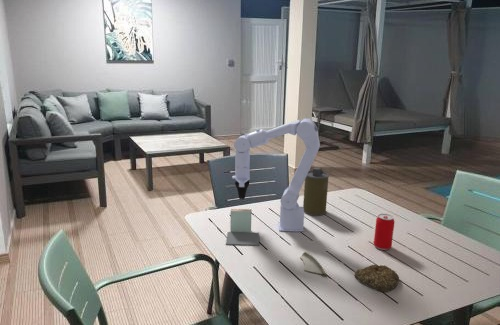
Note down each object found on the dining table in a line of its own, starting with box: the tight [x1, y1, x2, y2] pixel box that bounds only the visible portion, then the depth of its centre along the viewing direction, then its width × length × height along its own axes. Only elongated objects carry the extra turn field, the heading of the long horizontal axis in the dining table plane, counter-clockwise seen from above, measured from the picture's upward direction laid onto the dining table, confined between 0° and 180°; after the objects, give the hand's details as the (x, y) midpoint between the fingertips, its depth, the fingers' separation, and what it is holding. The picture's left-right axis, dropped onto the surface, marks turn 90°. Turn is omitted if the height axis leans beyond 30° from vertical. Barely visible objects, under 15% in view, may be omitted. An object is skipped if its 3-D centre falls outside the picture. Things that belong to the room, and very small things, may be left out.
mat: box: [225, 231, 260, 246], centre depth 150 cm, size 12×10×1 cm
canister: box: [302, 166, 330, 217], centre depth 175 cm, size 11×10×20 cm
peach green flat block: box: [229, 208, 253, 232], centre depth 155 cm, size 8×2×9 cm, turn 89°
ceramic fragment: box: [299, 251, 328, 277], centre depth 130 cm, size 14×5×4 cm, turn 24°
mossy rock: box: [354, 264, 400, 293], centre depth 124 cm, size 13×12×5 cm
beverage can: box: [373, 213, 395, 251], centre depth 144 cm, size 6×6×12 cm
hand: (241, 198), depth 162 cm, fingers closed
